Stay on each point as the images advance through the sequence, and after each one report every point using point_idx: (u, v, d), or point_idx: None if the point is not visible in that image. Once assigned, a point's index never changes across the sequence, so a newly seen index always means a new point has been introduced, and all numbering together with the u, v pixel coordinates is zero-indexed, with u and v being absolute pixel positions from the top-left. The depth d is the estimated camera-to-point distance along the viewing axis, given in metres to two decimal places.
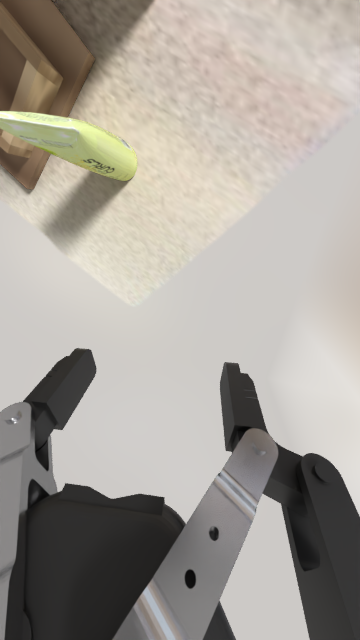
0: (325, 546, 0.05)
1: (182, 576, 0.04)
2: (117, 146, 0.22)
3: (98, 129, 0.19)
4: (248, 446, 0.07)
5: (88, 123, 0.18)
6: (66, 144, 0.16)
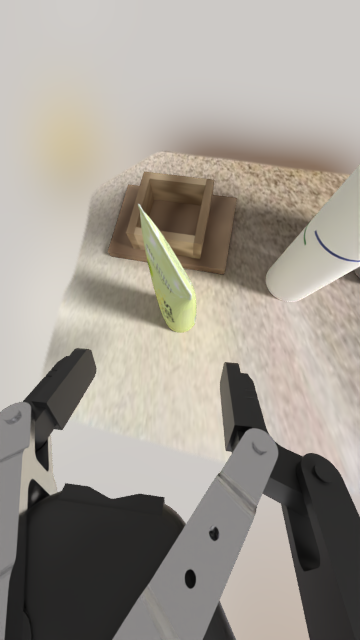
0: (325, 546, 0.05)
1: (182, 576, 0.04)
2: (192, 317, 0.22)
3: None
4: (248, 446, 0.07)
5: None
6: (168, 286, 0.13)
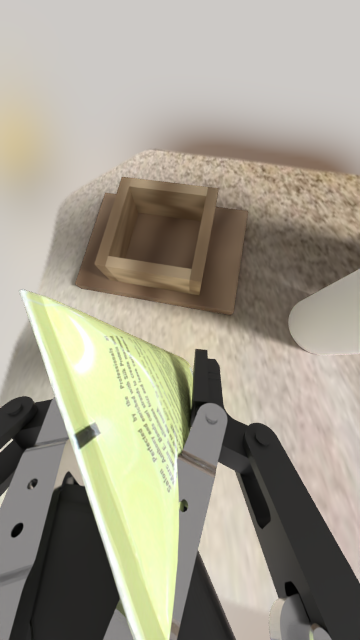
0: (271, 501, 0.06)
1: None
2: None
3: None
4: (202, 420, 0.07)
5: (189, 415, 0.09)
6: None
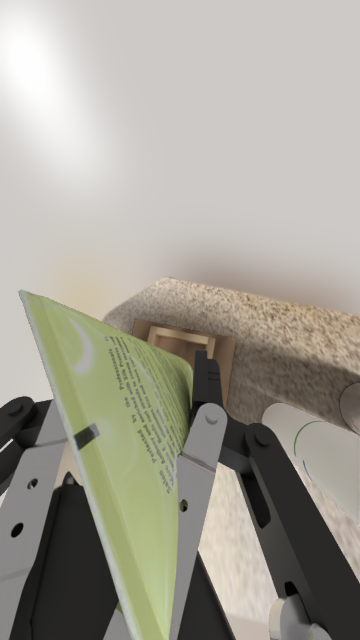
0: (272, 501, 0.06)
1: None
2: None
3: None
4: (202, 420, 0.07)
5: (189, 415, 0.09)
6: None
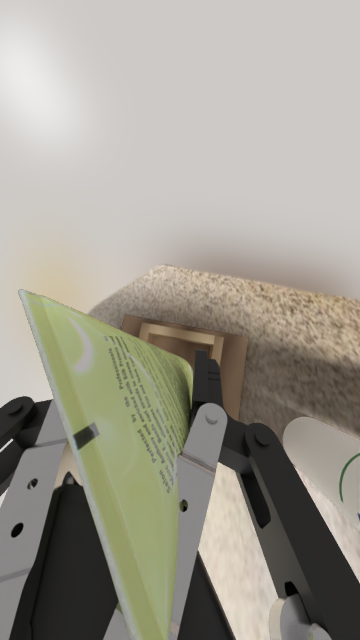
0: (272, 501, 0.06)
1: None
2: None
3: None
4: (202, 420, 0.07)
5: (189, 415, 0.09)
6: None
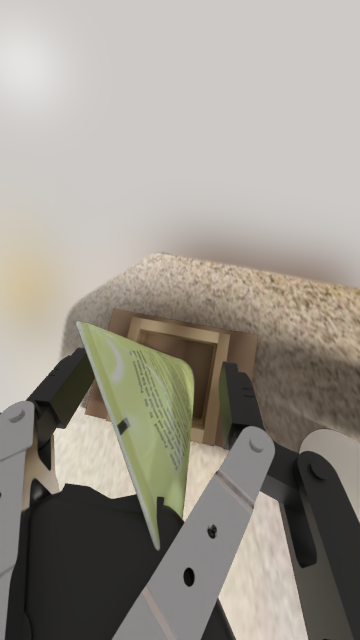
0: (322, 543, 0.05)
1: (181, 574, 0.04)
2: None
3: None
4: (245, 444, 0.07)
5: (191, 414, 0.11)
6: None
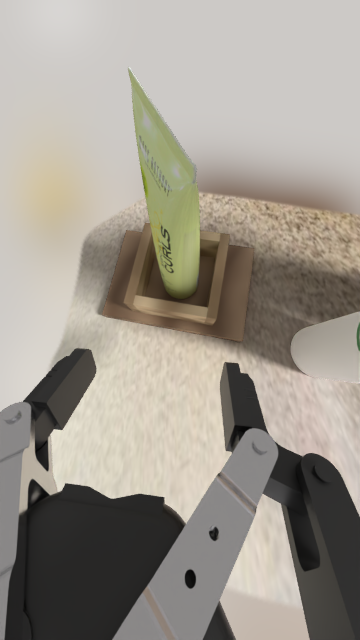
0: (325, 546, 0.05)
1: (182, 576, 0.04)
2: (194, 267, 0.19)
3: (199, 237, 0.15)
4: (248, 446, 0.07)
5: None
6: (166, 185, 0.10)
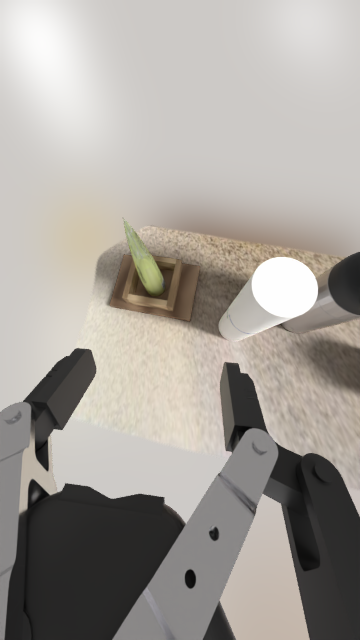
0: (325, 546, 0.05)
1: (182, 576, 0.04)
2: (156, 280, 0.38)
3: (155, 268, 0.35)
4: (248, 446, 0.07)
5: (153, 262, 0.34)
6: (135, 255, 0.30)
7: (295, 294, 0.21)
